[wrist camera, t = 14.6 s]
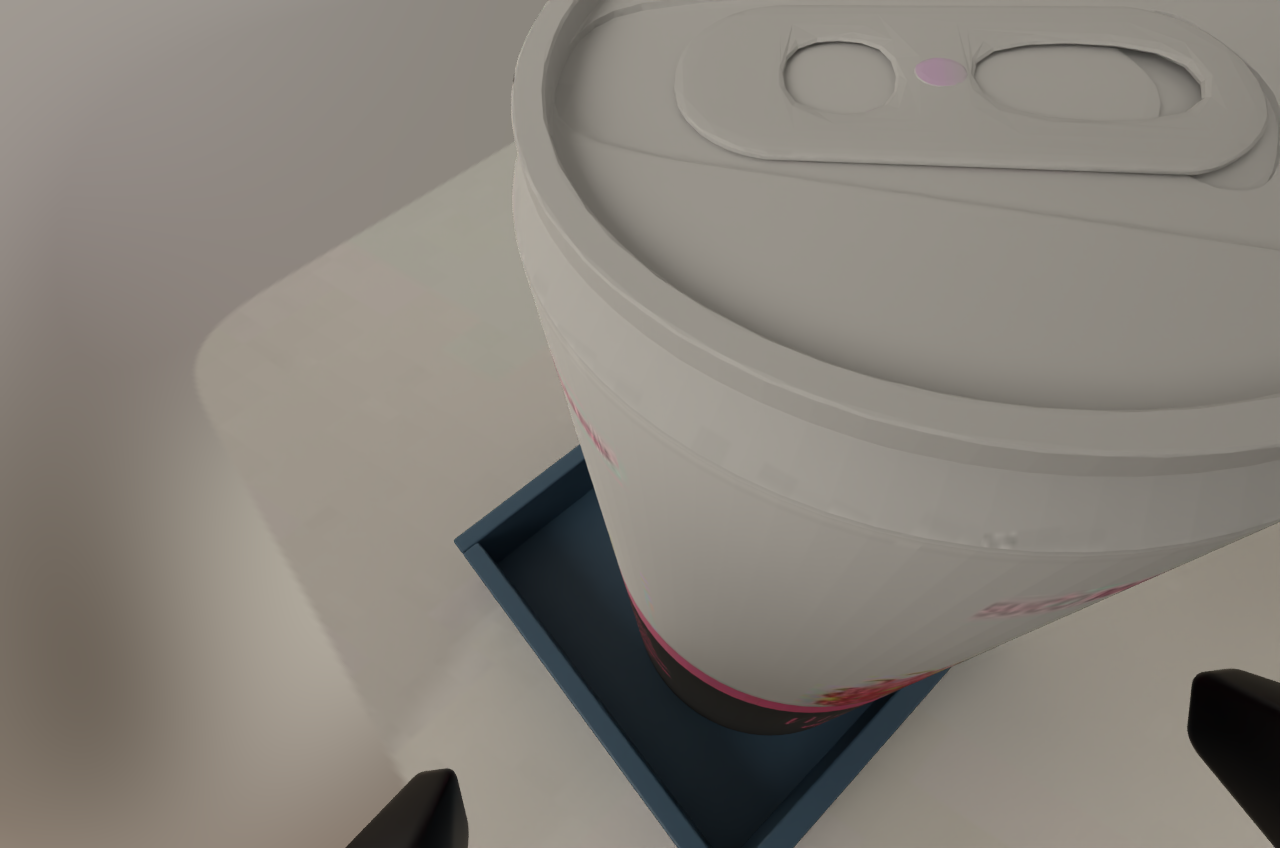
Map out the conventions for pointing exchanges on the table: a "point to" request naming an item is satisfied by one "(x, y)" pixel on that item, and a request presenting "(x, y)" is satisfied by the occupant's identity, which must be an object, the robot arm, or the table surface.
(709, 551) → the beverage can
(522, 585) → the blue square tray
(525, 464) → the table surface
